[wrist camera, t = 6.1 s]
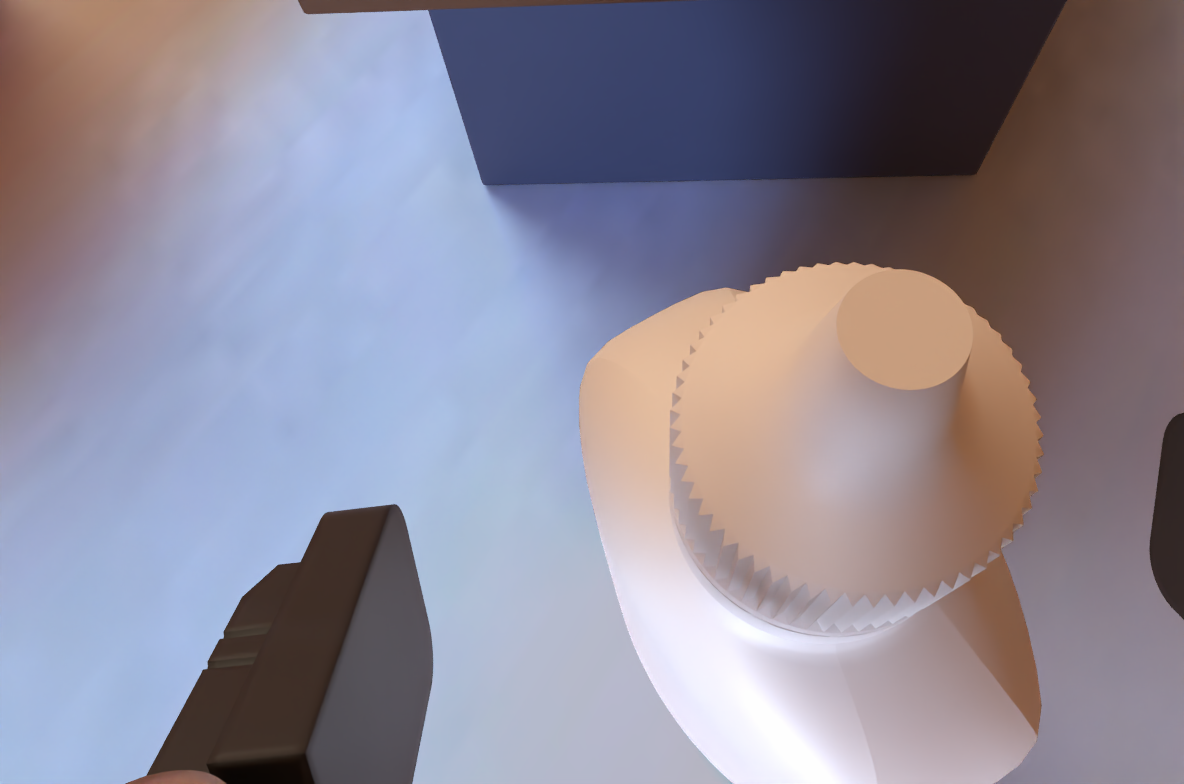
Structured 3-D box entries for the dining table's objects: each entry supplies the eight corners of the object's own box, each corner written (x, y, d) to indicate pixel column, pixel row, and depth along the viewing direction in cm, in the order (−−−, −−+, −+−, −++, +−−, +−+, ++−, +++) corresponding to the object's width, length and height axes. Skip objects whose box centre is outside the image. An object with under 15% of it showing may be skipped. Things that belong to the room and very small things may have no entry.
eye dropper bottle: (854, 471, 17) (1216, -97, 6) (889, 815, 15) (1549, 956, 4) (610, 474, 17) (508, -58, 6) (610, 812, 15) (456, 935, 4)
